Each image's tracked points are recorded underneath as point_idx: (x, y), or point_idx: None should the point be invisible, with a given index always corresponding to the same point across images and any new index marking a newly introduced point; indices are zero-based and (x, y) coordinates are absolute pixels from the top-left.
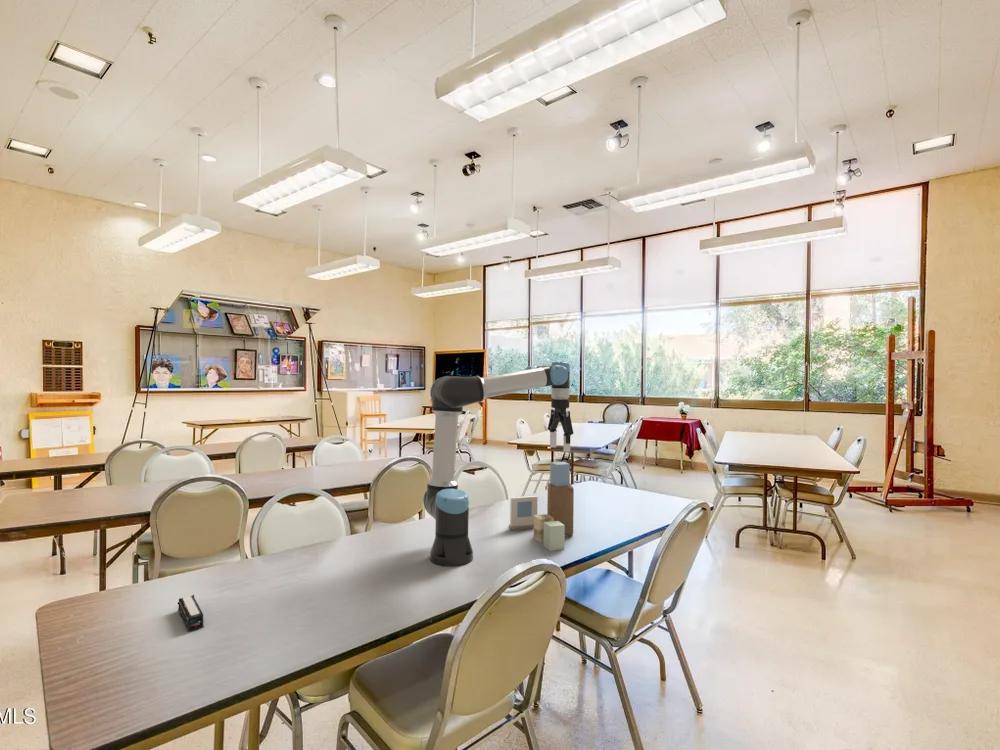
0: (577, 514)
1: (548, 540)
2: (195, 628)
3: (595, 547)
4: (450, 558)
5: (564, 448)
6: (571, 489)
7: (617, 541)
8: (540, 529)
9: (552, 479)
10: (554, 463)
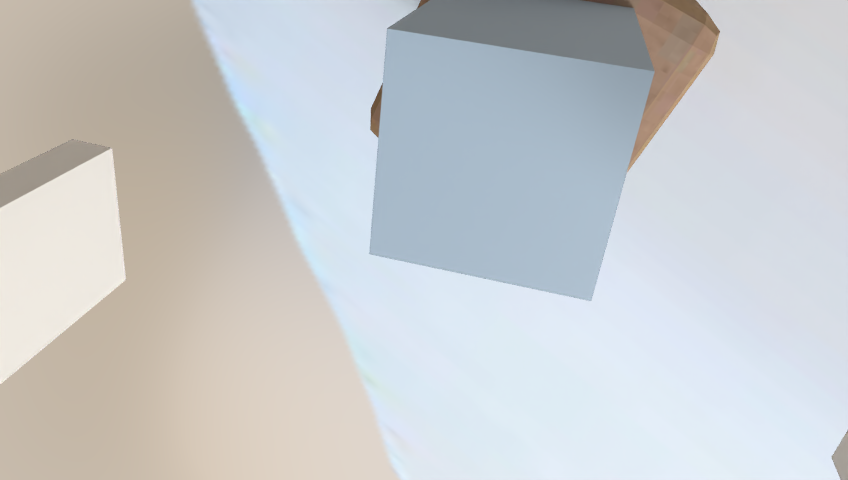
0: (818, 351)
1: None
2: None
3: (243, 31)
4: None
5: (15, 172)
6: (372, 109)
7: (291, 196)
8: None
9: (567, 8)
10: (514, 69)
